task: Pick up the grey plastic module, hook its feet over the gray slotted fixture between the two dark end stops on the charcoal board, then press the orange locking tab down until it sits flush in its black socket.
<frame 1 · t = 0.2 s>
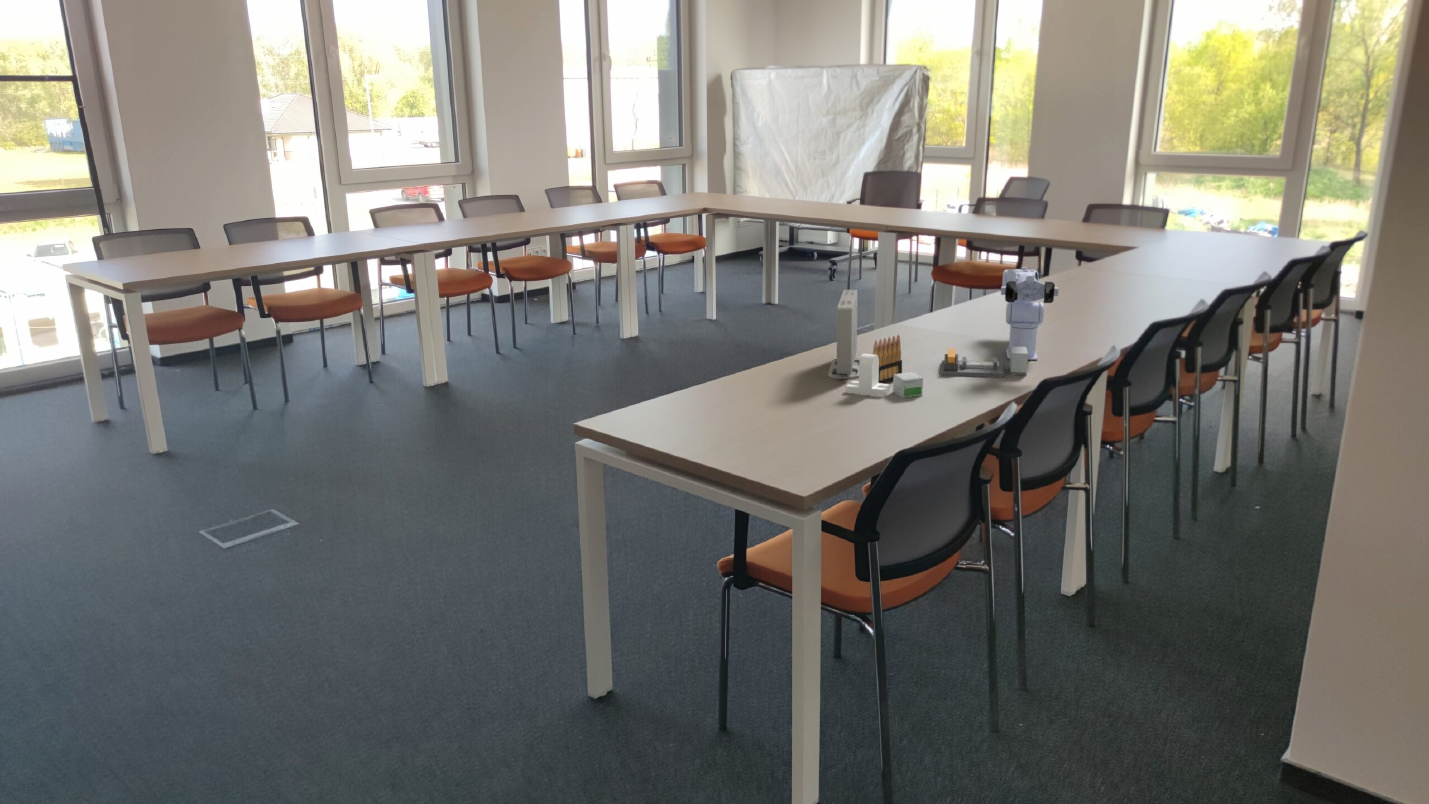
hand: (1031, 296, 248), 21 cm above the table, tool horizontal, fingers open, 7 cm apart
module: (1017, 371, 257), on the table
small box: (907, 394, 242), on the table
gray slotted fixture: (971, 362, 260), on the mounting board, point 1 cm above the table
mounting board: (971, 370, 260), on the table
ammunition clip: (886, 382, 252), on the table
cable organizer: (867, 393, 244), on the table
locking tab: (951, 356, 260), point 4 cm above the table, slide at 0.0 cm
network device: (846, 369, 265), on the table
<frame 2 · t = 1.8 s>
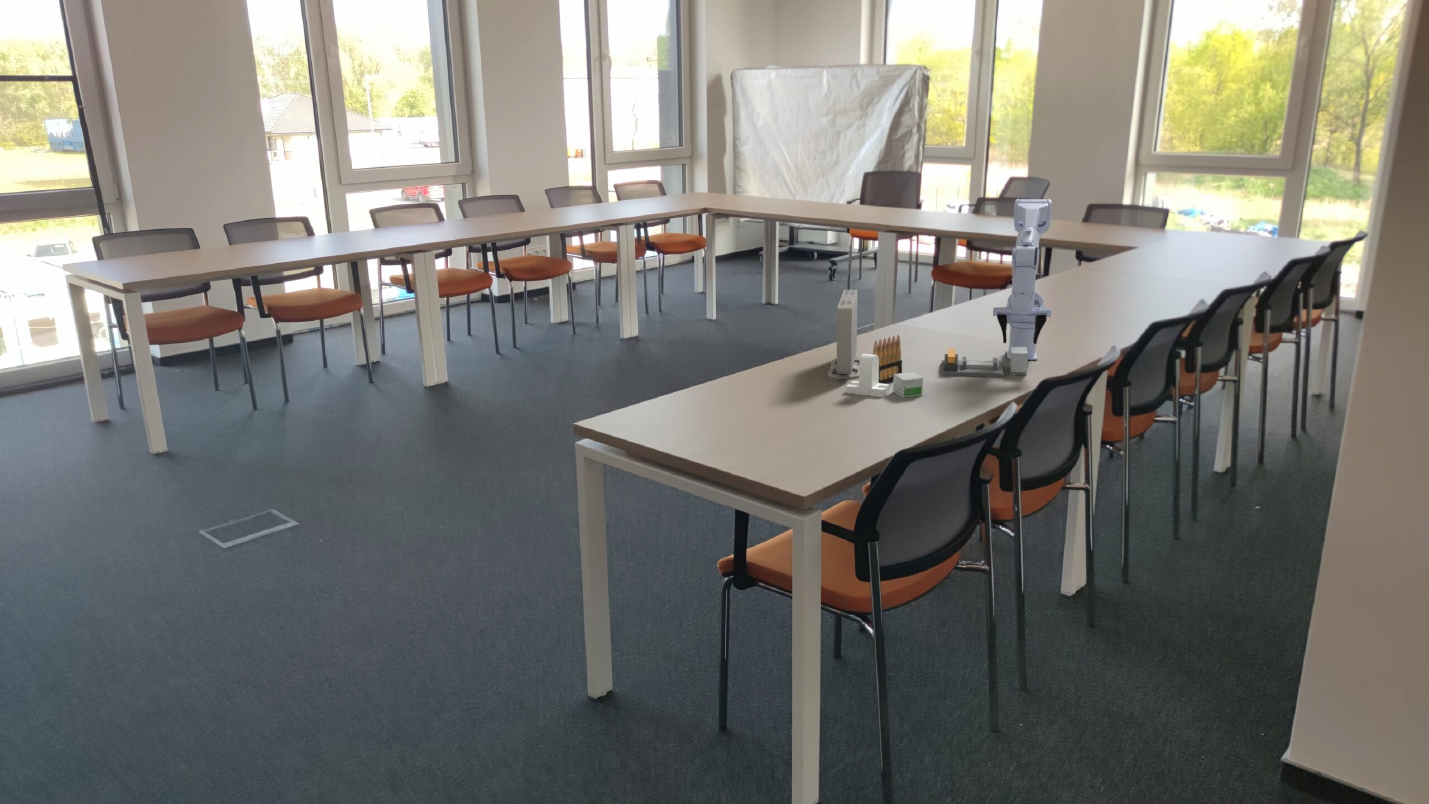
hand: (1019, 342, 255), 8 cm above the table, tool pointing down, fingers open, 7 cm apart
nothing on the table moved.
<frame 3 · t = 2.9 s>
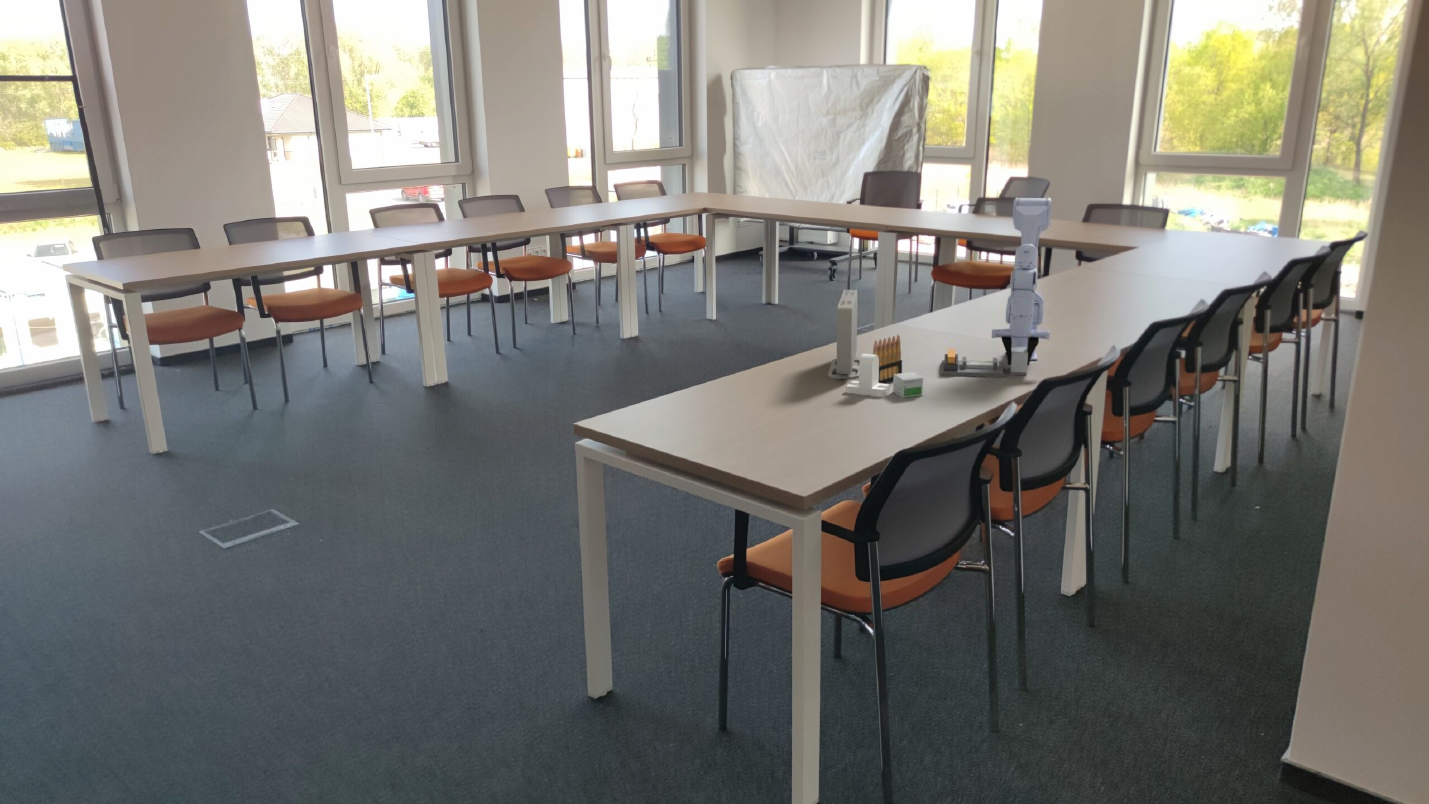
hand: (1018, 364, 257), 2 cm above the table, tool pointing down, fingers closed on module, 4 cm apart
module: (1017, 371, 257), on the table, touching gripper
everything else where it was.
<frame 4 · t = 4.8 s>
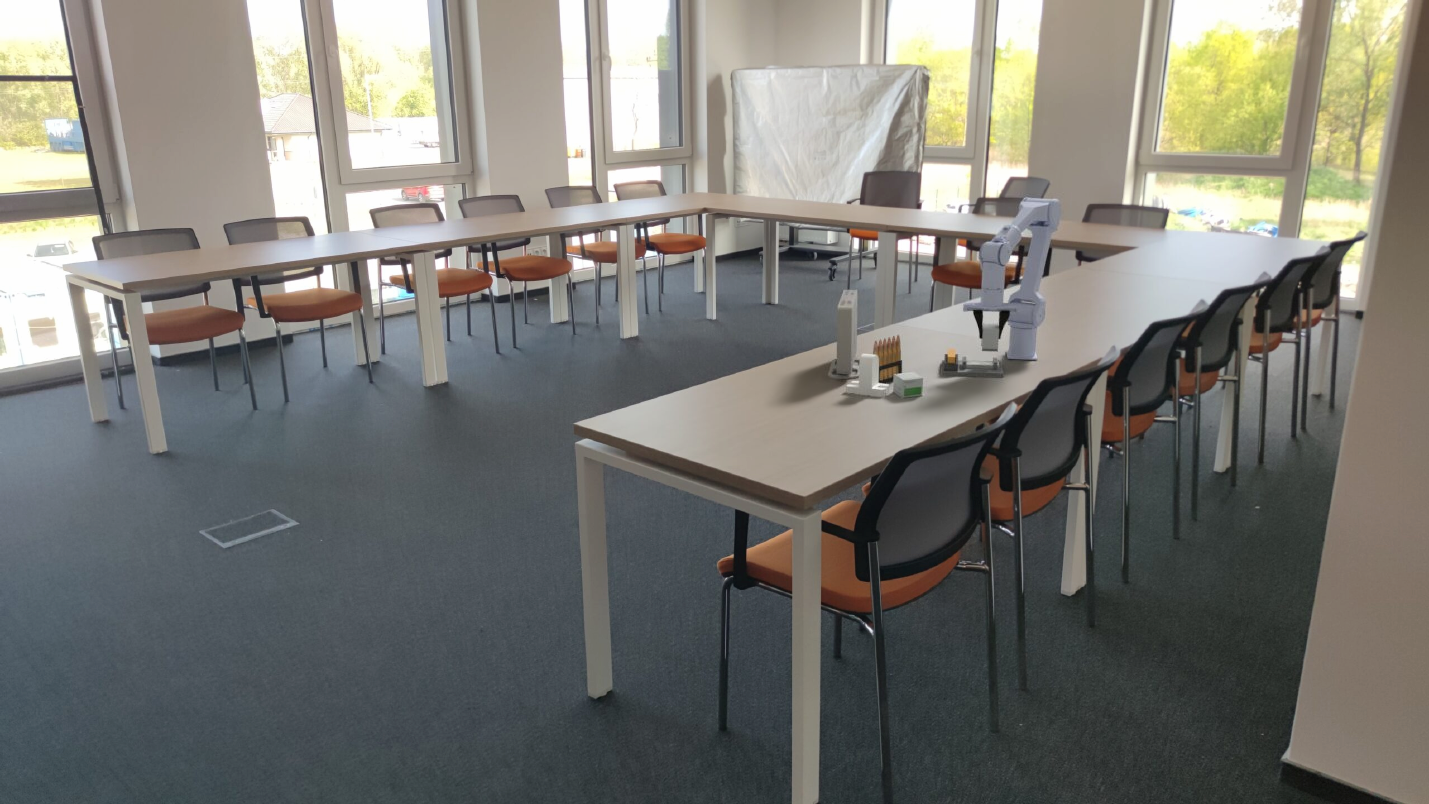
hand: (989, 338, 256), 9 cm above the table, tool pointing down, fingers closed on module, 4 cm apart
module: (989, 348, 257), point 6 cm above the table, touching gripper
everything else where it was.
when the fingers open (4 cm above the table, at t = 6.6 s): module stays where it is, resting on gray slotted fixture.
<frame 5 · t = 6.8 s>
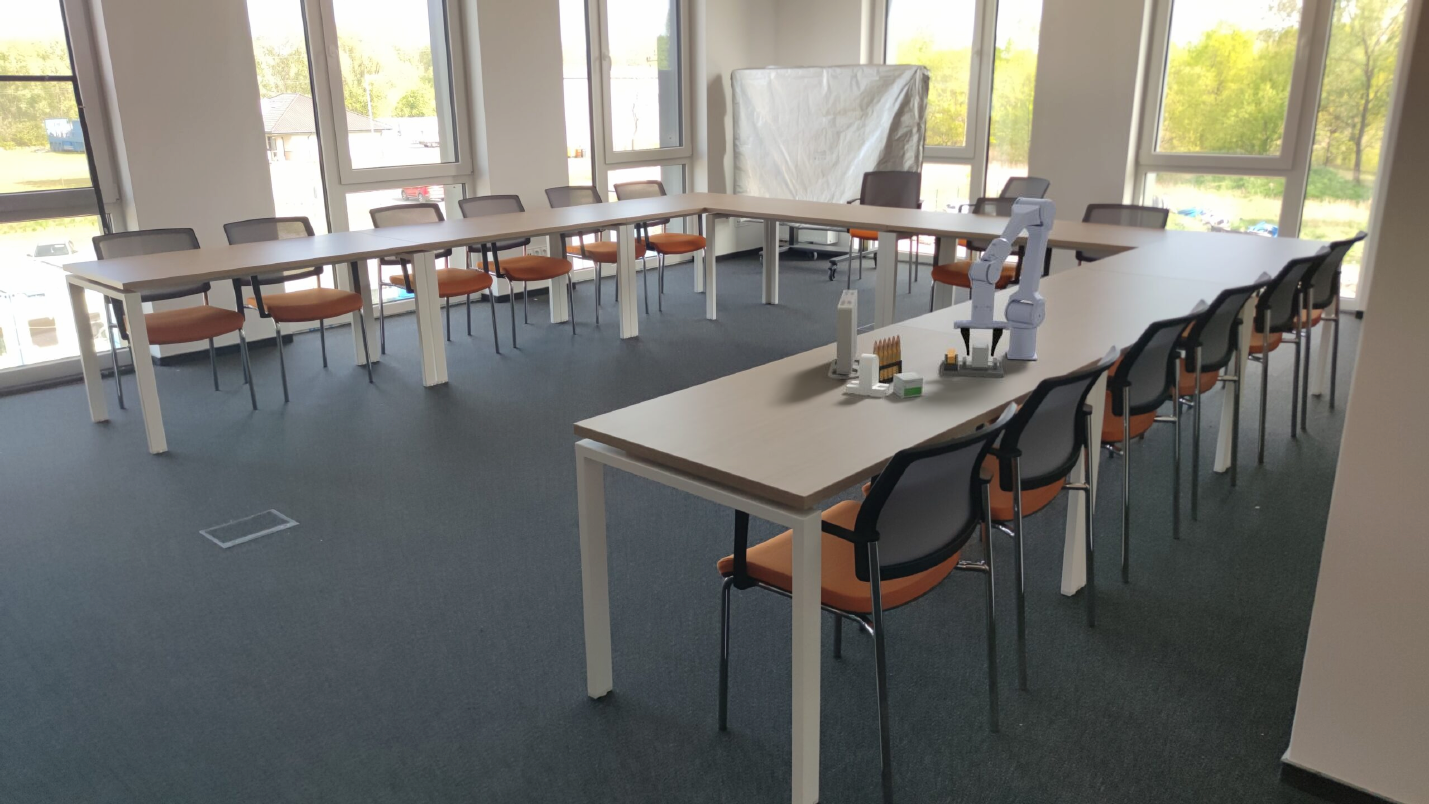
hand: (980, 355, 258), 4 cm above the table, tool pointing down, fingers open, 6 cm apart
module: (979, 366, 259), point 1 cm above the table, touching gray slotted fixture
everything else where it was.
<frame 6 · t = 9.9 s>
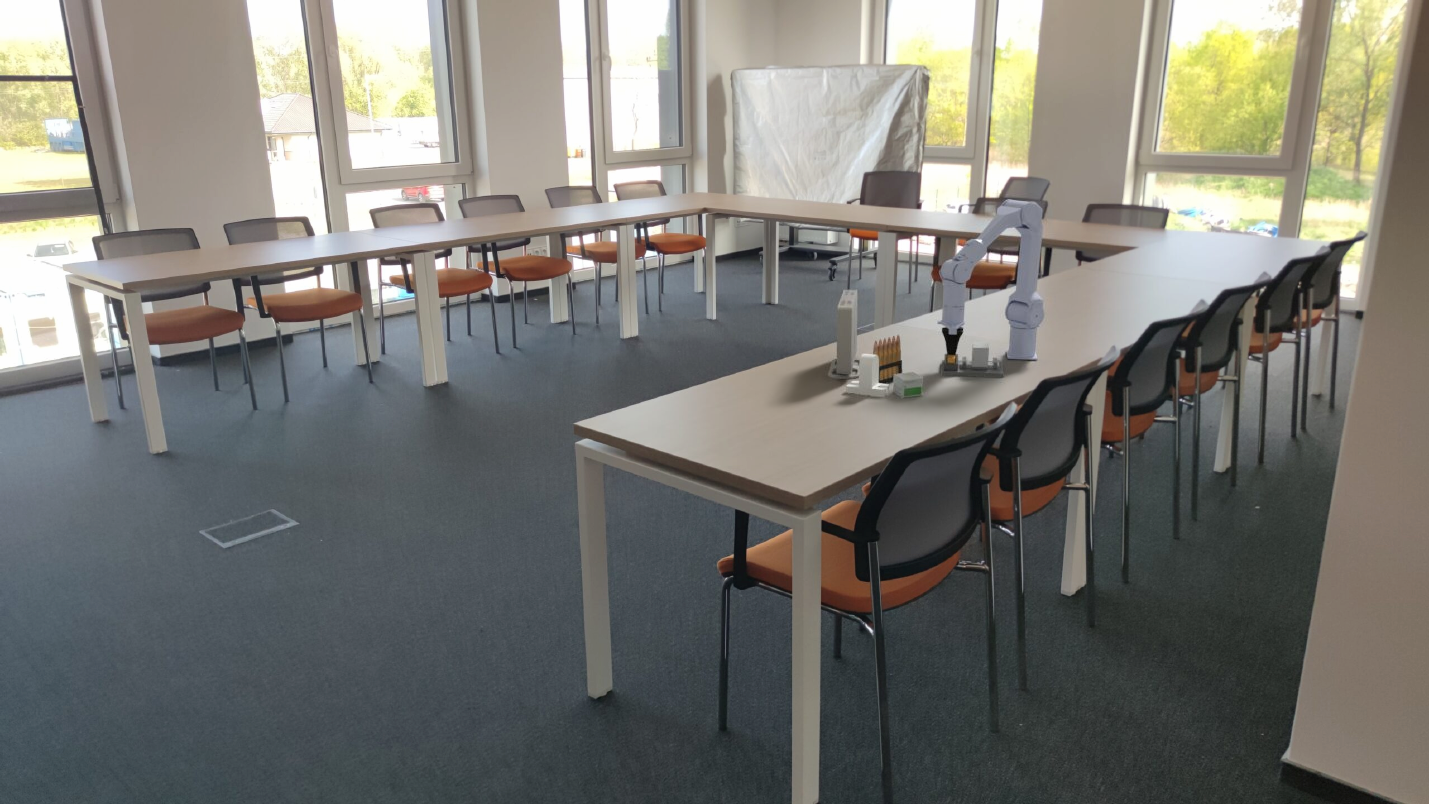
hand: (951, 354, 260), 4 cm above the table, tool pointing down, fingers closed, pressing on locking tab
locking tab: (951, 357, 260), point 3 cm above the table, slide at 0.3 cm, touching gripper
everything else where it was.
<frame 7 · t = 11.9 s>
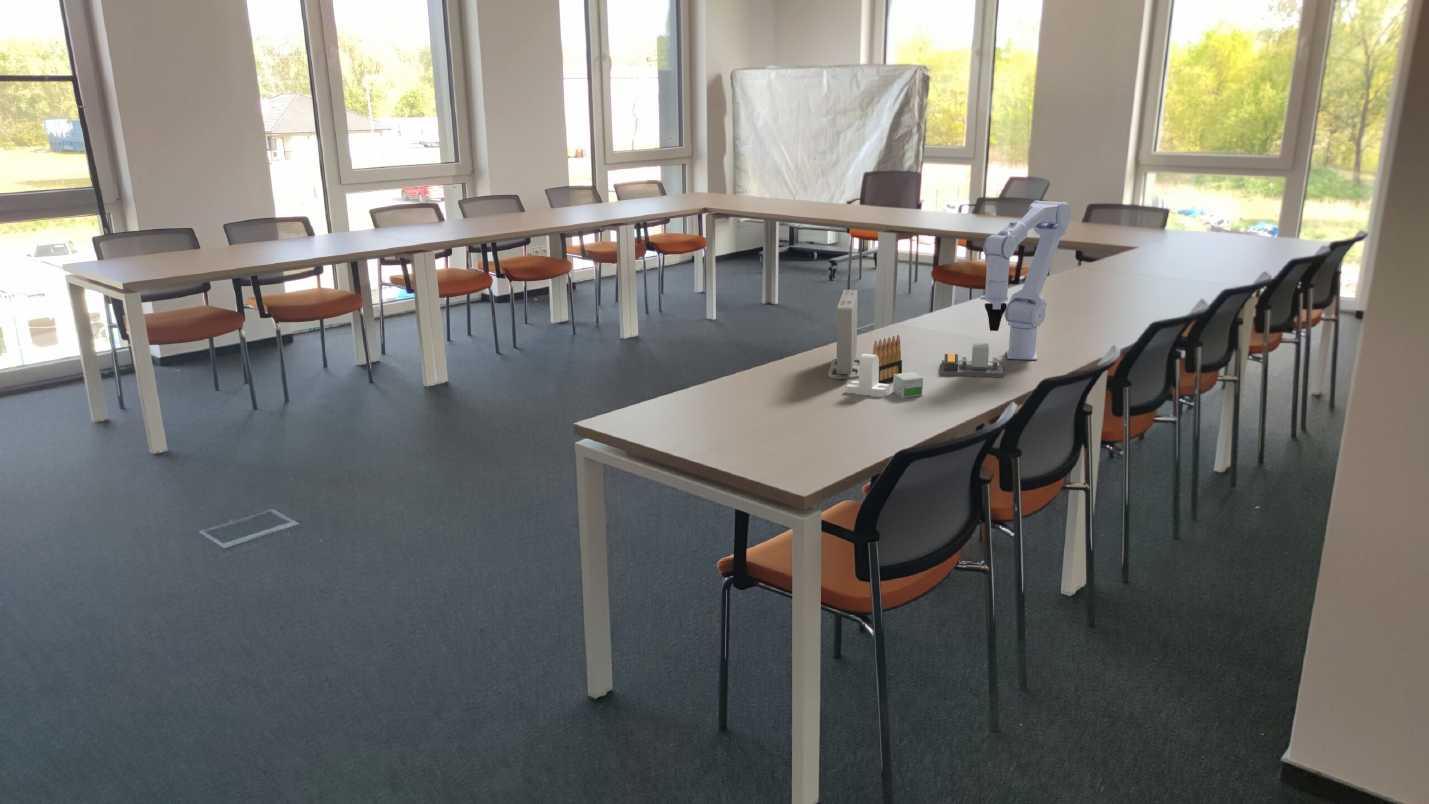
hand: (993, 330, 259), 10 cm above the table, tool pointing down, fingers closed
locking tab: (951, 360, 261), point 2 cm above the table, slide at 1.2 cm
everything else where it was.
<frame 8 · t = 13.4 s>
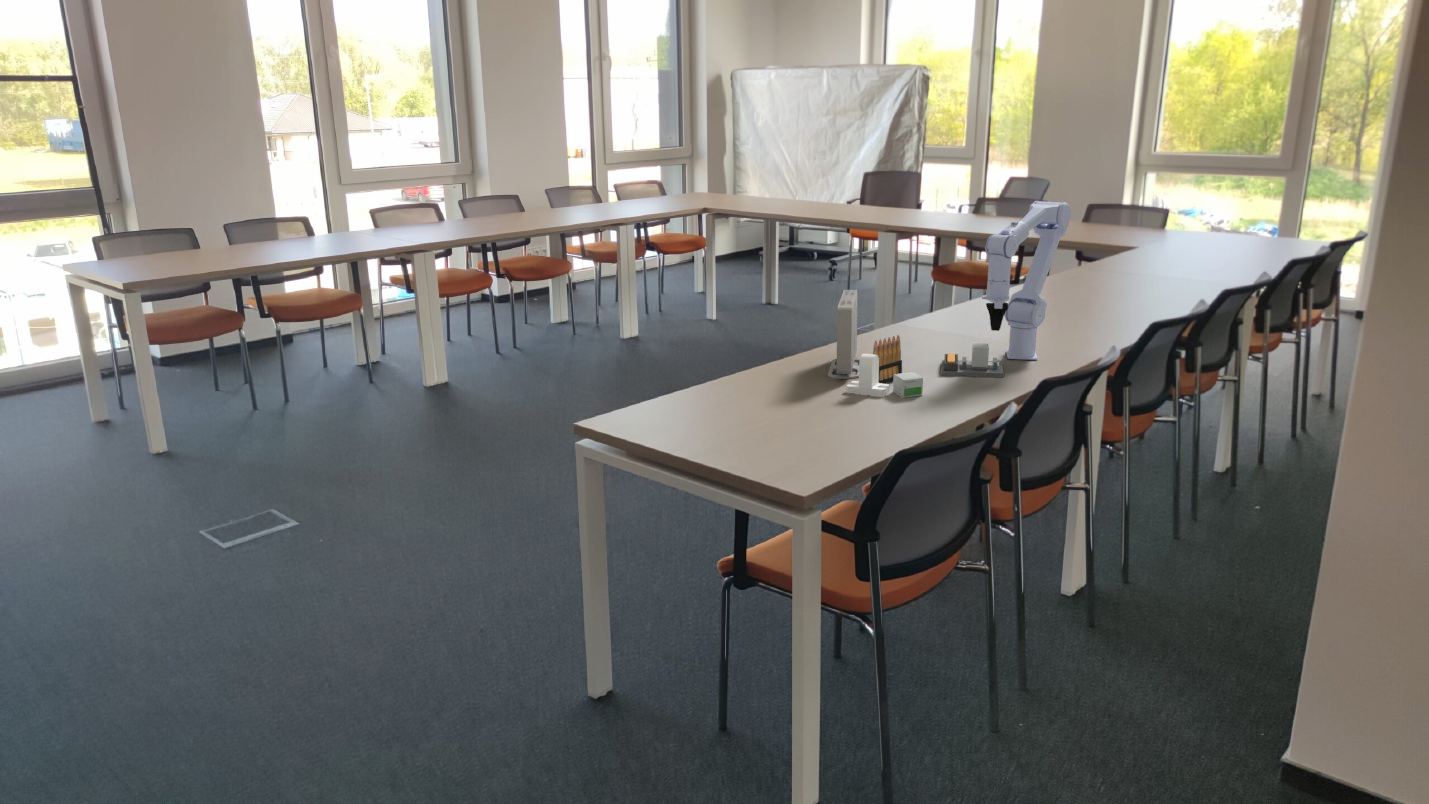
hand: (995, 330, 259), 10 cm above the table, tool pointing down, fingers closed
nothing on the table moved.
at the end: module 0.3 cm from the target spot, point 1.2 cm above the table; module tilted 0°; locking tab slide at 1.2 cm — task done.
